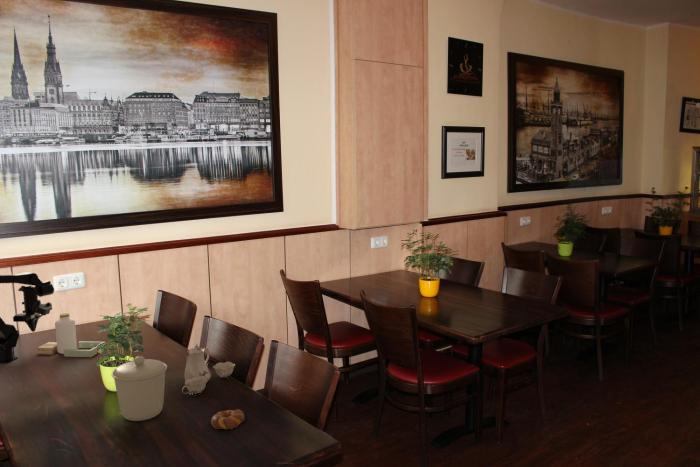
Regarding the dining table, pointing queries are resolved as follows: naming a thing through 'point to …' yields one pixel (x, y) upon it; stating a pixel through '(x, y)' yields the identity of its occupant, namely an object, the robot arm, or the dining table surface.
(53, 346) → the oak block
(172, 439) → the dining table surface
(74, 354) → the tray frame
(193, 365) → the chinaware
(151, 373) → the canister
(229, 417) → the braided ring pastry
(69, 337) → the potion bottle
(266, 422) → the dining table surface
